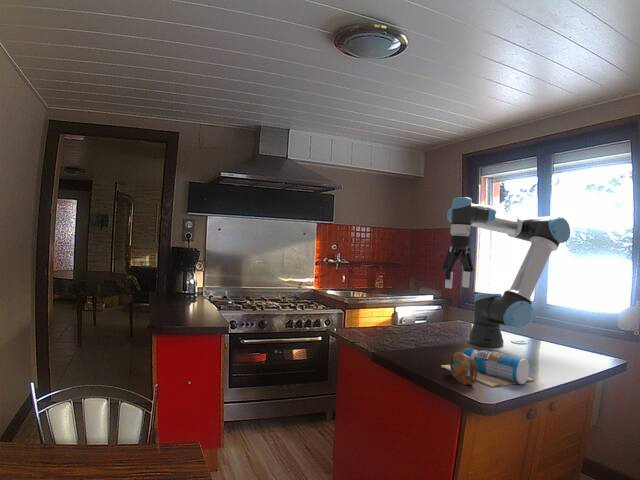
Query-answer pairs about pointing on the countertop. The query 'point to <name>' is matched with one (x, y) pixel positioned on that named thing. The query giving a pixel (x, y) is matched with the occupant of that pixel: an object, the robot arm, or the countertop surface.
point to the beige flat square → (490, 379)
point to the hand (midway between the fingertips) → (457, 287)
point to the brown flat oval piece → (463, 368)
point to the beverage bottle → (500, 365)
